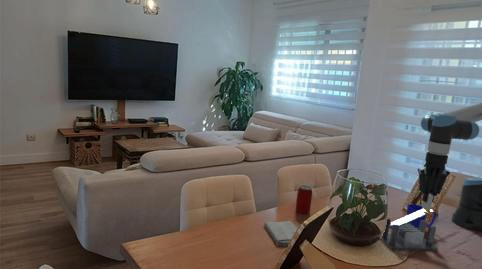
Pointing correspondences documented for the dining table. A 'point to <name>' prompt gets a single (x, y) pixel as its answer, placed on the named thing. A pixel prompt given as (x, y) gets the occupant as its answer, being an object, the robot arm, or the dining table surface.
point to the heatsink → (409, 237)
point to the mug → (414, 208)
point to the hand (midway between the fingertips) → (426, 209)
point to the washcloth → (281, 231)
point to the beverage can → (304, 199)
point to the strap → (409, 218)
